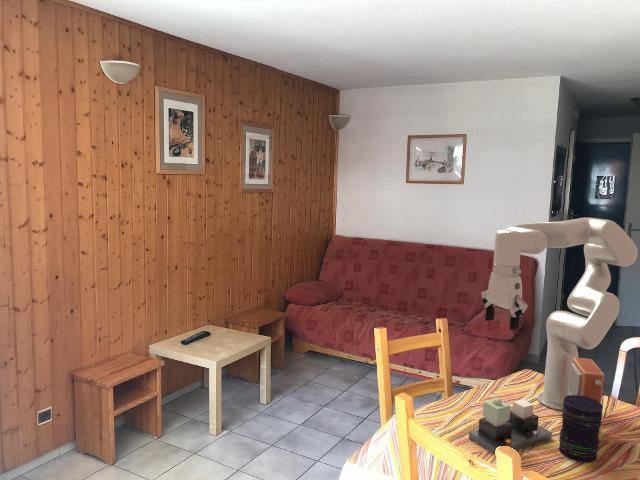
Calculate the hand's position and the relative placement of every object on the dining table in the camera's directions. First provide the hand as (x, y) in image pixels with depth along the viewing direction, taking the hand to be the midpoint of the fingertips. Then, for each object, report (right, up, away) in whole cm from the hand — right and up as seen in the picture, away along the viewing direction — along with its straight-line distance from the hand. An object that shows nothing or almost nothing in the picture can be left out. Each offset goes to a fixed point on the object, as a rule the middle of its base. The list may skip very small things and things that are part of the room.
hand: (501, 324), depth 164 cm
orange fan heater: (+22, -32, -4) cm, 39 cm away
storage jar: (+16, -34, -16) cm, 40 cm away
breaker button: (+4, -27, -6) cm, 28 cm away
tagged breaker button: (-6, -30, -11) cm, 32 cm away
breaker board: (0, -32, -9) cm, 33 cm away
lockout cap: (-6, -25, -12) cm, 28 cm away
